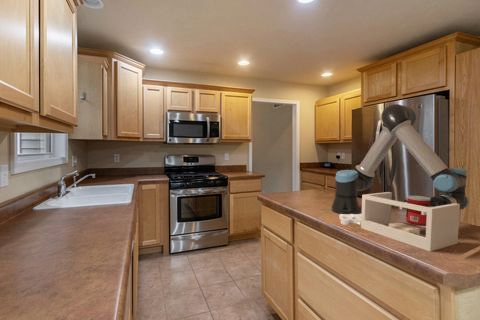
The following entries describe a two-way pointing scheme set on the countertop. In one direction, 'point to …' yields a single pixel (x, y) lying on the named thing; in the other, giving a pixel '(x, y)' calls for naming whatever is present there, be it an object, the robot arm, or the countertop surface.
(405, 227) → the offcut top
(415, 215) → the canned food
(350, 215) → the white brass knuckles
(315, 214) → the countertop surface
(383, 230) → the rack
